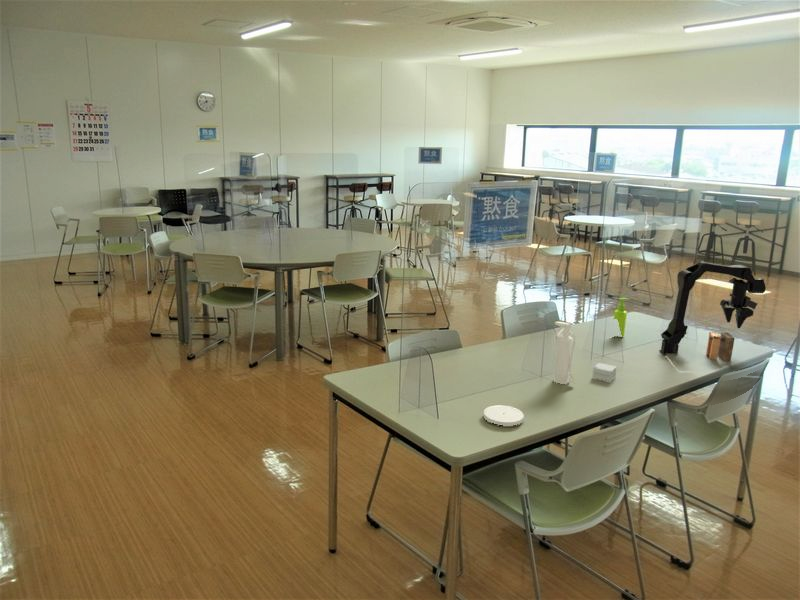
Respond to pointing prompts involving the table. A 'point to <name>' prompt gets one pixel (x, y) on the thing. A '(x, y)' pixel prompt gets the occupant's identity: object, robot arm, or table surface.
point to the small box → (604, 372)
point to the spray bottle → (564, 354)
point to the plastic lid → (503, 415)
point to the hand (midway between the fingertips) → (733, 325)
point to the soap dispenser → (621, 315)
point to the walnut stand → (725, 346)
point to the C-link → (713, 346)
